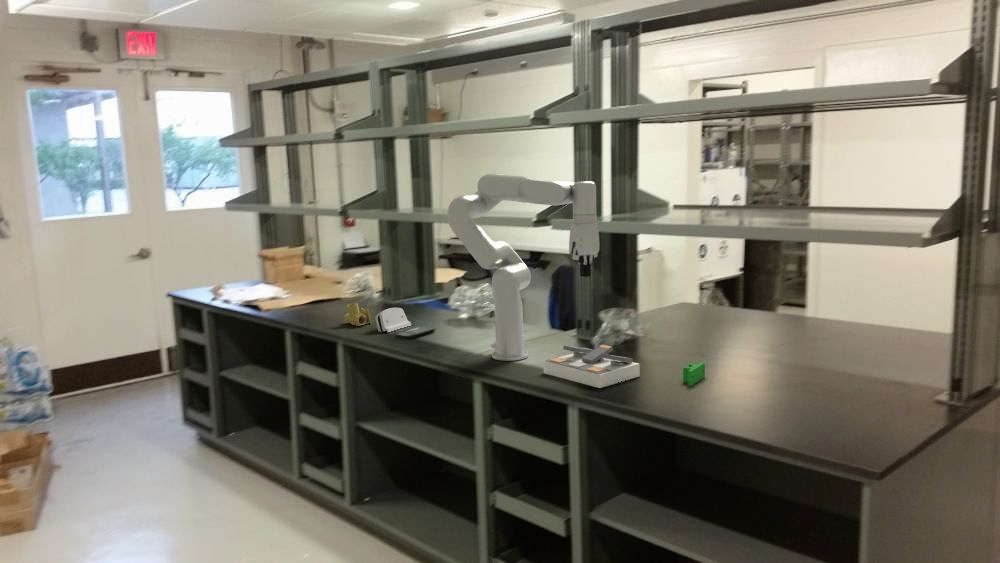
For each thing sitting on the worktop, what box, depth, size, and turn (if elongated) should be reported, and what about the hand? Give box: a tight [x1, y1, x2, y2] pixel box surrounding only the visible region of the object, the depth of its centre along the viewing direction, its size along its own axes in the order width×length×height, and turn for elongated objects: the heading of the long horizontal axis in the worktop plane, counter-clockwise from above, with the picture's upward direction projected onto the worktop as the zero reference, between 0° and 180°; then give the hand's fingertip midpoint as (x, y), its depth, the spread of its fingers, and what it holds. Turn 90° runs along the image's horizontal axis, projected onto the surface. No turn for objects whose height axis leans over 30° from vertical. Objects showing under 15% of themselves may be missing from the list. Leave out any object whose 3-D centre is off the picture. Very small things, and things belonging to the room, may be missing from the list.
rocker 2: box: [581, 344, 614, 364], centre depth 239 cm, size 4×10×1 cm, turn 130°
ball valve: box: [343, 302, 373, 326], centre depth 329 cm, size 13×10×10 cm
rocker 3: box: [600, 353, 634, 363], centre depth 233 cm, size 4×10×1 cm, turn 130°
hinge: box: [375, 307, 412, 333], centre depth 317 cm, size 17×5×10 cm, turn 151°
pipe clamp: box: [682, 361, 706, 387], centre depth 229 cm, size 11×4×5 cm, turn 145°
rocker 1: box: [562, 345, 594, 353], centre depth 245 cm, size 4×10×1 cm, turn 130°
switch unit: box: [543, 352, 641, 389], centre depth 238 cm, size 24×18×5 cm
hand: (585, 276), depth 248 cm, fingers closed
